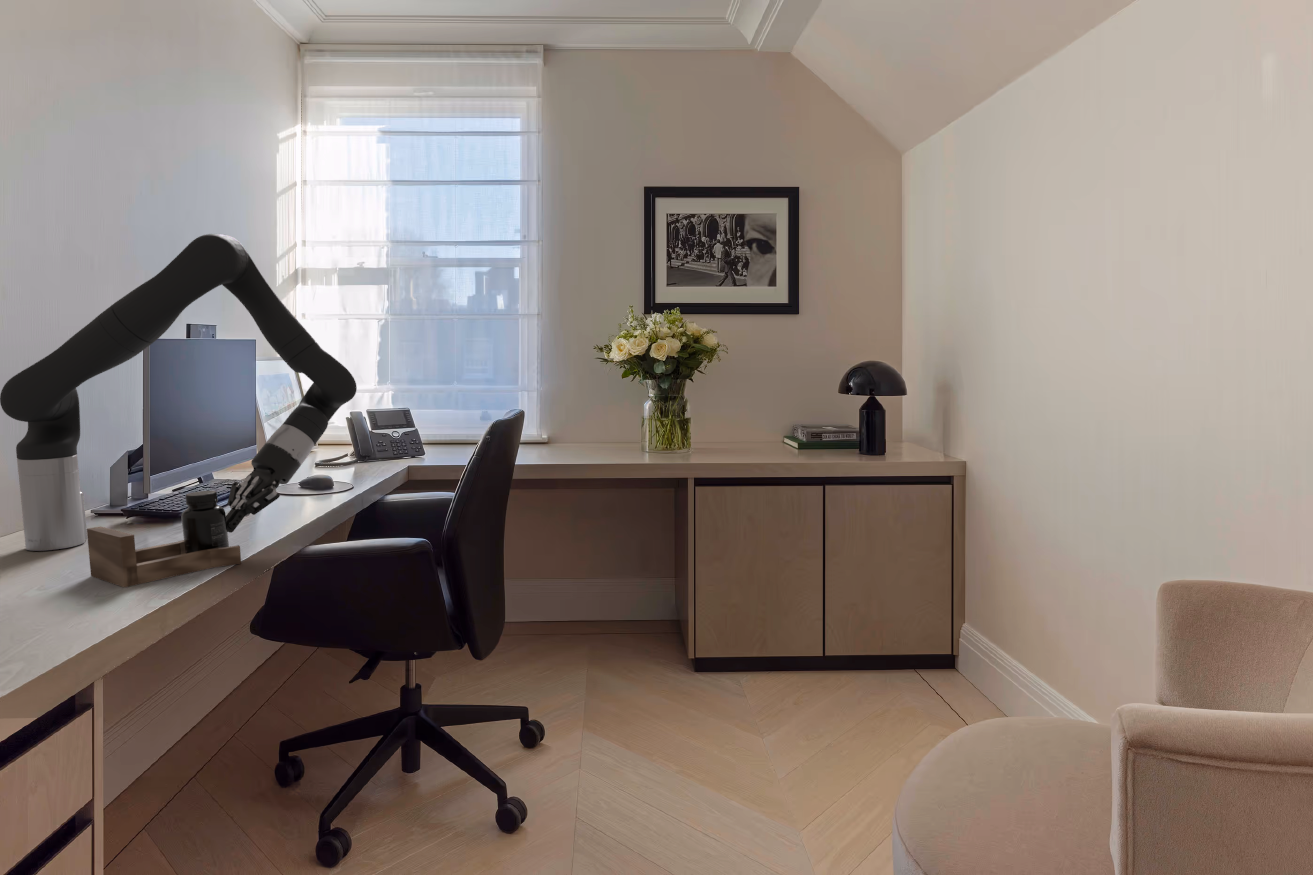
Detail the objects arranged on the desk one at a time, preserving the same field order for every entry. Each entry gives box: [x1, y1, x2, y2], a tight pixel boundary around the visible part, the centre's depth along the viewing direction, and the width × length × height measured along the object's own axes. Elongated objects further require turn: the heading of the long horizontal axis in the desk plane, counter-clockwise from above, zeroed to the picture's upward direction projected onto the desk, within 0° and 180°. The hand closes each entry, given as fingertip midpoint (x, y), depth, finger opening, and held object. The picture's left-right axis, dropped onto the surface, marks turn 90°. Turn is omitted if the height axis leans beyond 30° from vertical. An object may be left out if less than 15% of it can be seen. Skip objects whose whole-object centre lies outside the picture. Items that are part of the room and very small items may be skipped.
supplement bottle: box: [180, 490, 230, 554], centre depth 144 cm, size 7×7×12 cm
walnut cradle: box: [86, 526, 242, 588], centre depth 139 cm, size 18×15×8 cm
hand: (225, 529), depth 147 cm, fingers closed
